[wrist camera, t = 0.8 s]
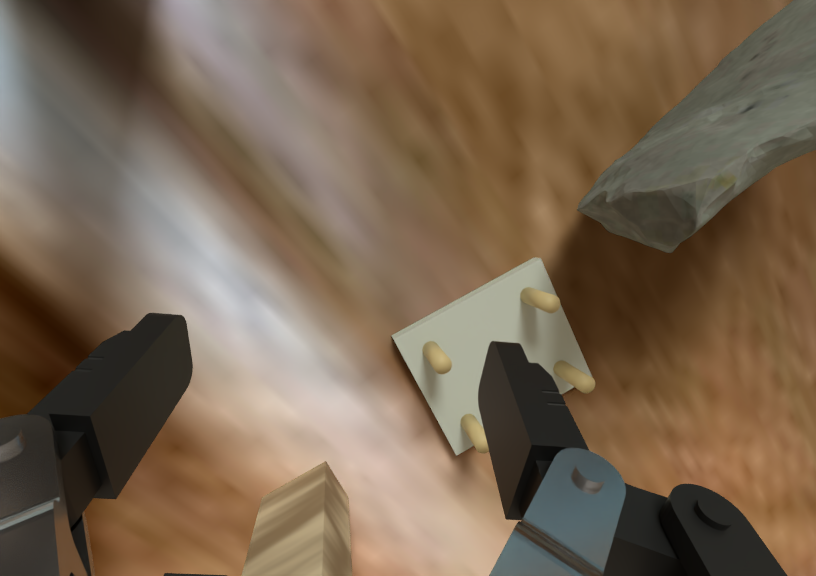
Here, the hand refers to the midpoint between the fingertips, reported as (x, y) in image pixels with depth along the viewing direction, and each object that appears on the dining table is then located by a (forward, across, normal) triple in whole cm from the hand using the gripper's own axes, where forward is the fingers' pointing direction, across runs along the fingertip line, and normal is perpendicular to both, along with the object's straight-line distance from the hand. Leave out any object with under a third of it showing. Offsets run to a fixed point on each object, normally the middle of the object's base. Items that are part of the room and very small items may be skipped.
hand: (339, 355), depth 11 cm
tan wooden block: (+15, +4, +26) cm, 31 cm away
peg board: (+21, -12, +14) cm, 28 cm away
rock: (+29, -23, -4) cm, 38 cm away
